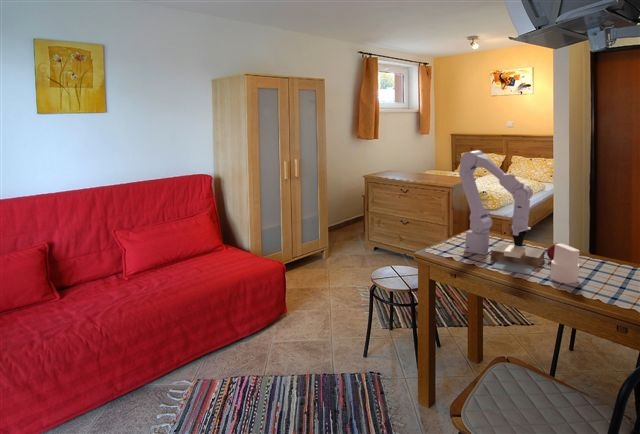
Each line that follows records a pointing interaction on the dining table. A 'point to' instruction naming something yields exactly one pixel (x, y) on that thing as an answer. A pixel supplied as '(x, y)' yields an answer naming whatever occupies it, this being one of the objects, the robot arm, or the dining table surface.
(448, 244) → the dining table surface
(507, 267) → the mat
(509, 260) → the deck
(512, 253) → the tan tilted rectangular prism
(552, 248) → the onion
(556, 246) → the base with upright slab
